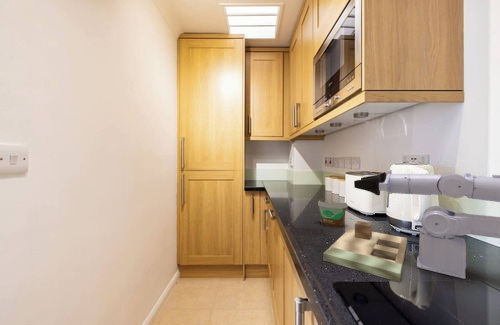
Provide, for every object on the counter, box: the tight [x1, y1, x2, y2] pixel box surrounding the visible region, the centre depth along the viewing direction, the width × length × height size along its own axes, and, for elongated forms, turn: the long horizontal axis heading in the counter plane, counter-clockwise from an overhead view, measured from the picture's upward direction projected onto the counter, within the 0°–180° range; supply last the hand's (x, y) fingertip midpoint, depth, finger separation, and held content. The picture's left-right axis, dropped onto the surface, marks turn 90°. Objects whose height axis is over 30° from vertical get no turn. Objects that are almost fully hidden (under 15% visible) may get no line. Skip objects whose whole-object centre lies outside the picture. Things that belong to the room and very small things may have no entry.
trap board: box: [322, 227, 408, 283], centre depth 71 cm, size 18×30×2 cm, turn 143°
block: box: [354, 220, 373, 240], centre depth 78 cm, size 4×4×4 cm
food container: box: [317, 199, 348, 228], centre depth 98 cm, size 12×6×10 cm, turn 62°
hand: (358, 182), depth 74 cm, fingers open, 7 cm apart
